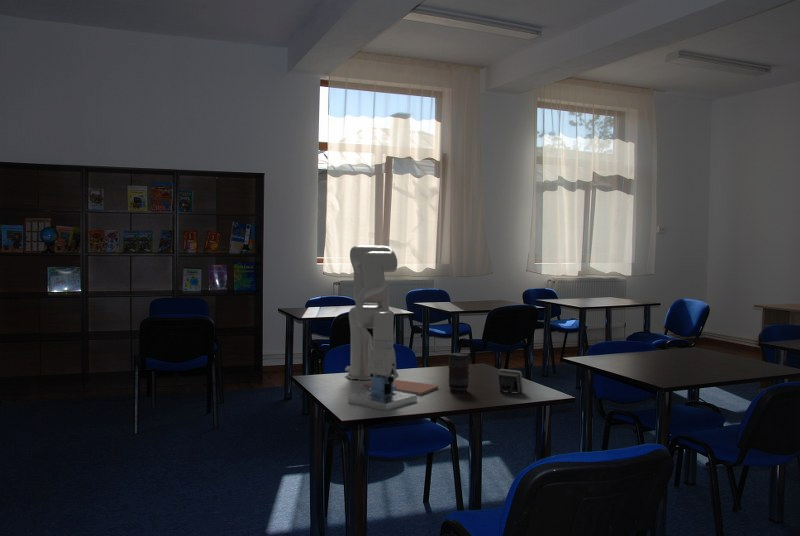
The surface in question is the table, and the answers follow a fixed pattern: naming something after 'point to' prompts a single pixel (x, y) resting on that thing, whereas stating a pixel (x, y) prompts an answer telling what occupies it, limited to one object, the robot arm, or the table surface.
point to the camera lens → (458, 372)
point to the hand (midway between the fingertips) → (382, 392)
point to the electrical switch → (510, 380)
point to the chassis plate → (382, 400)
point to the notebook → (409, 387)
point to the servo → (380, 387)
